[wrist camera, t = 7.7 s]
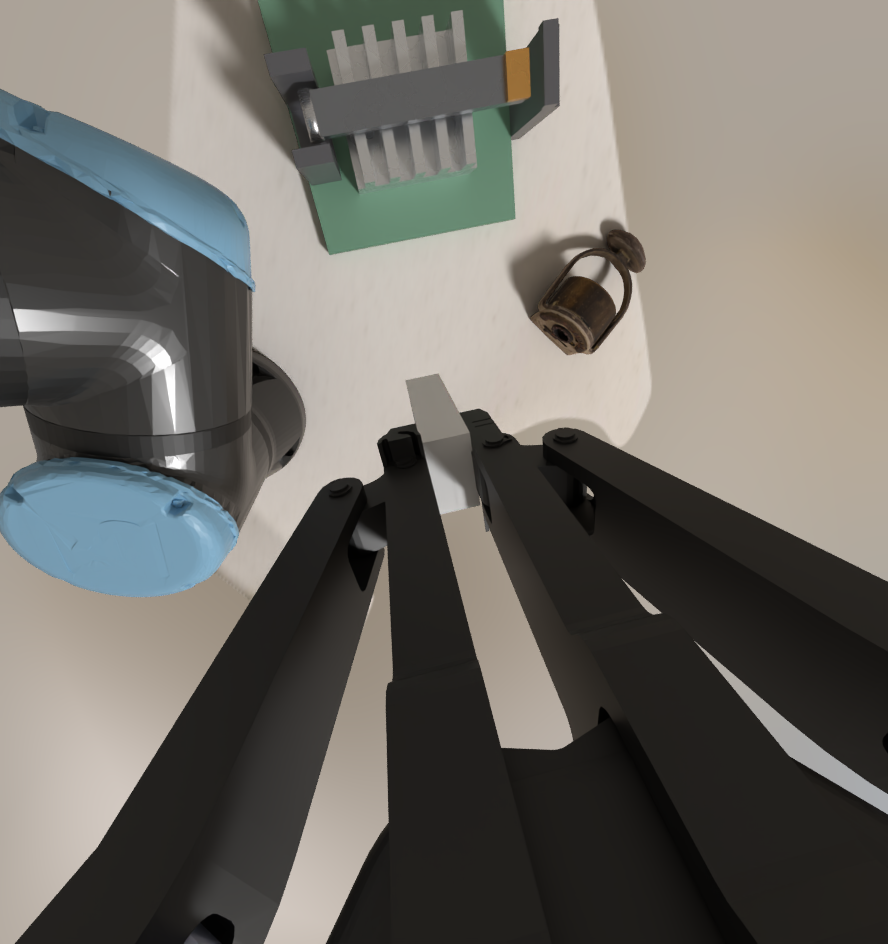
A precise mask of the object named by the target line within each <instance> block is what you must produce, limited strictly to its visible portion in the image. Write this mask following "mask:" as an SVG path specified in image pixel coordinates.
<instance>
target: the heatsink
mask: <svg viewBox="0 0 888 944" xmlns="http://www.w3.org/2000/svg"><path fill="white" fill-rule="evenodd" d="M331 32H332V37H333V42H334V47H335V49H330V50H326V51H327V55H328V59H329V64H330V68H331V72H332V77H333V81H334V85H340V84H345V83H351V82H356V81H362V80H367V79H373V78H378V77H384V76H389V75H395V74H400V73H406V72H411V71H417V70H422V69H428V68H433V67H439V66H444V65H450V64H455V63H461V62H466V61H467V52H466V41H465V31H464V20H463V10H459V11H453V12H451V13H450V16H449V19H448V23H447V26H446V29H445V31H439V32H435V26H434V18H433V15H429V16H422V17H421V21H420V26H419V31H418V35H415V36H409V37H406V33H405V26H404V20H398V21H392V23H391V38H390V40H384V41H378V42H377V40H376V35H375V29H374V24H373V25H367V26H362V41H363V44H360V45H354V46H348V47H347V44H346V39H345V34H344V29H343V30H336V31H331ZM346 138H347V142H348V147H349V151H350V155H351V160H352V164H353V169H354V173H355V177H356V182H357V186H358V190H359V194H365V193H371V192H376V191H381V190H387V189H392V188H398V187H403V186H408V185H414V184H419V183H425V182H430V181H435V180H441V179H446V178H451V177H457V176H462V175H468V174H470V173H471V172H473V171H474V170H475V169H476V168H477V159H476V148H475V137H474V127H473V116H472V112H471V113H466V114H460V115H455V116H450V117H444V118H439V119H434V120H428V121H423V122H417V123H412V124H407V125H401V126H396V127H390V128H385V129H380V130H374V131H369V132H363V133H358V134H353V135H347V136H346Z"/></svg>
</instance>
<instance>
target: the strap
mask: <svg viewBox="0 0 888 944" xmlns="http://www.w3.org/2000/svg"><path fill="white" fill-rule="evenodd" d="M298 96H299V100H300V103H301V107H302V111H303V115H304V118H305V122H306V126H307V130H308V133H309V137H310V141H311V143H321V142H324V141H325V140H326V139H331V138H337V137H342V136H347V135H353V134H358V133H363V132H369V131H374V130H380V129H385V128H390V127H396V126H401V125H407V124H412V123H417V122H423V121H428V120H434V119H439V118H444V117H450V116H455V115H460V114H466V113H471V112H477V111H482V110H487V109H493V108H498V107H504V106H509V105H514V104H520V103H523V102H524V101H525V100H526V99H529V98H530V97H531V88H530V58H529V47H528V48H523V49H517V50H512V51H506V52H505V54H504V55H499V56H494V57H488V58H483V59H477V60H472V61H466V62H461V63H455V64H450V65H444V66H439V67H433V68H428V69H422V70H417V71H411V72H406V73H400V74H395V75H389V76H384V77H378V78H373V79H367V80H362V81H356V82H351V83H345V84H340V85H334V86H329V87H323V88H318V89H311V88H303V89H300V90H298Z"/></svg>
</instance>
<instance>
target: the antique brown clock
mask: <svg viewBox="0 0 888 944" xmlns="http://www.w3.org/2000/svg"><path fill="white" fill-rule="evenodd" d="M607 243H608V246H609V248H610V250H611V251H610V250H607V249H604V248H593V249H590V250H586V251H584V252H582V253H580V254H578V255H577V256H575V257H574V258H573V259H572V260H571V261H570V262H569V263H568V264H567V265H566V266H565V268H564V269H563V271H562V272H561V273H560V275H559V276H558V277H557V279H556V280H555V281H554V282H553V284H552V285H551V286H550V288H549V289H548V290H547V292H546V293H545V295H544V296H543V297H542V299H541V300H540V301H539V303H538V309H539V312H537V313H536V314H534V315H533V316H532V317H531V321H532V322H533V323H534V324H535V325H536V326H537V327H538V328H539V329H540V330H541V331H542V332H543V333H544V334H545V335H546V336H547V337H548V338H549V339H550V340H551V341H552V342H553V343H554V344H555V345H557V346H558V347H559V348H560V349H561V350H562V351H563V352H564V353H565V354H566V355H572V354H576V353H584V354H592V353H593V352H595V351H596V350H597V349H598V348H599V346H600V345H601V344H602V342H603V341H604V340H605V339H606V338H607V336H608V335H609V334H610V333H611V331H612V330H613V329H614V328H615V326H616V325H617V324H618V322H619V321H620V320H621V319H622V318H623V316H624V314H625V313H626V311H627V309H628V306H629V303H630V300H631V294H632V280H631V276H630V273H629V270H630V271H632V272H635V273H638V272H641V271H642V270H643V269H644V267H645V263H646V261H645V260H646V258H645V254H644V250H643V247H642V245H641V244H640V242H639V241H638V239H637V238H636V237H635V236H633V235H632V234H631V233H628V232H625V231H622V230H612V231H611V232H609V233H608V235H607ZM587 256H600V257H604V258H606V259H607V260H609V261H610V262H611V263H612V264H613V265H614V267H615V268H616V269H617V270H618V271H619V273H620V275H621V277H622V279H623V283H624V298H623V302H622V305H621V308H620V310H619V312H618V313H617V314H616V307H615V304H614V302H613V300H612V298H611V296H610V295H609V294H608V292H607V291H606V290H605V289H604V288H603V287H601V286H600V285H599V284H598V283H596V282H594V281H592V280H591V279H588V278H585V277H581V276H573V277H570V278H568V279H567V280H565V282H564V283H563V284H562V286H561V287H560V288H559V290H558V291H557V292H556V293H555V295H554V296H553V297H552V298H551V300H550V301H549V302H548V304H546V301H547V299H548V298H549V297H550V296H551V295H552V293H553V292H554V291H555V289H556V288H557V287H558V285H559V284H560V283H561V281H562V280H563V278H564V277H565V276H566V274H567V273H568V272H569V270H570V269H571V268H572V267H573V265H574V264H575V263H576V262H577V261H578V260H579V259H581V258H584V257H587ZM628 269H629V270H628ZM615 315H616V316H615Z"/></svg>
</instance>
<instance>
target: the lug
mask: <svg viewBox="0 0 888 944" xmlns="http://www.w3.org/2000/svg"><path fill="white" fill-rule="evenodd" d="M528 47H529V58H530V88H531V97H530V98H529V99H526V100H525V101H524V102H523V103H520V104H514V105H509V113H510V131H511V140H515V139H520V138H521V137H522V136H523V135H525V134H526V133H527V132H528V131H530V130H531V129H532V128H533V127H534V126H536V125H537V124H538V123H539V122H541V121H542V120H543V119H544V118H546V117H547V116H548V115H549V114H550V113H552V112H553V111H554V110H555V109H557V108H558V107H559V24H558V18H557V19H551V20H545V21H543V22H542V23H541V25H540V26H539V31H538V32H537V34H536V35H535V36H534V38H533V39H532V41H531V42H530V43H529V45H528V46H527V48H528Z"/></svg>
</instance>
